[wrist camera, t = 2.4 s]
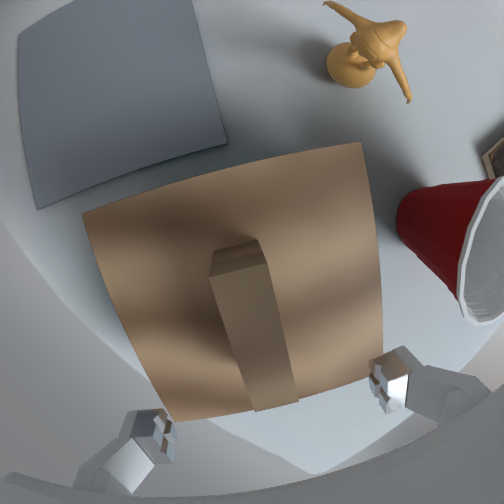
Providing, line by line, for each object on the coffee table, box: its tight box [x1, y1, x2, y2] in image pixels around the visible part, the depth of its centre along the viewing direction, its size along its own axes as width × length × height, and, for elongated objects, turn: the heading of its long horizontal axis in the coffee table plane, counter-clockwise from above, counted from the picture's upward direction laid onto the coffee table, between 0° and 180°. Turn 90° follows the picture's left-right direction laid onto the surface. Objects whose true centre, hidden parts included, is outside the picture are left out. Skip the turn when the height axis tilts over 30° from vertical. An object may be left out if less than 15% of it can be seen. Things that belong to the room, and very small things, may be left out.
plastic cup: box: [396, 176, 504, 327], centre depth 19 cm, size 11×11×12 cm
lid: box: [82, 141, 383, 422], centre depth 15 cm, size 16×16×5 cm
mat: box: [18, 0, 227, 210], centre depth 18 cm, size 20×18×1 cm
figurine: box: [323, 1, 412, 104], centre depth 15 cm, size 8×6×12 cm
